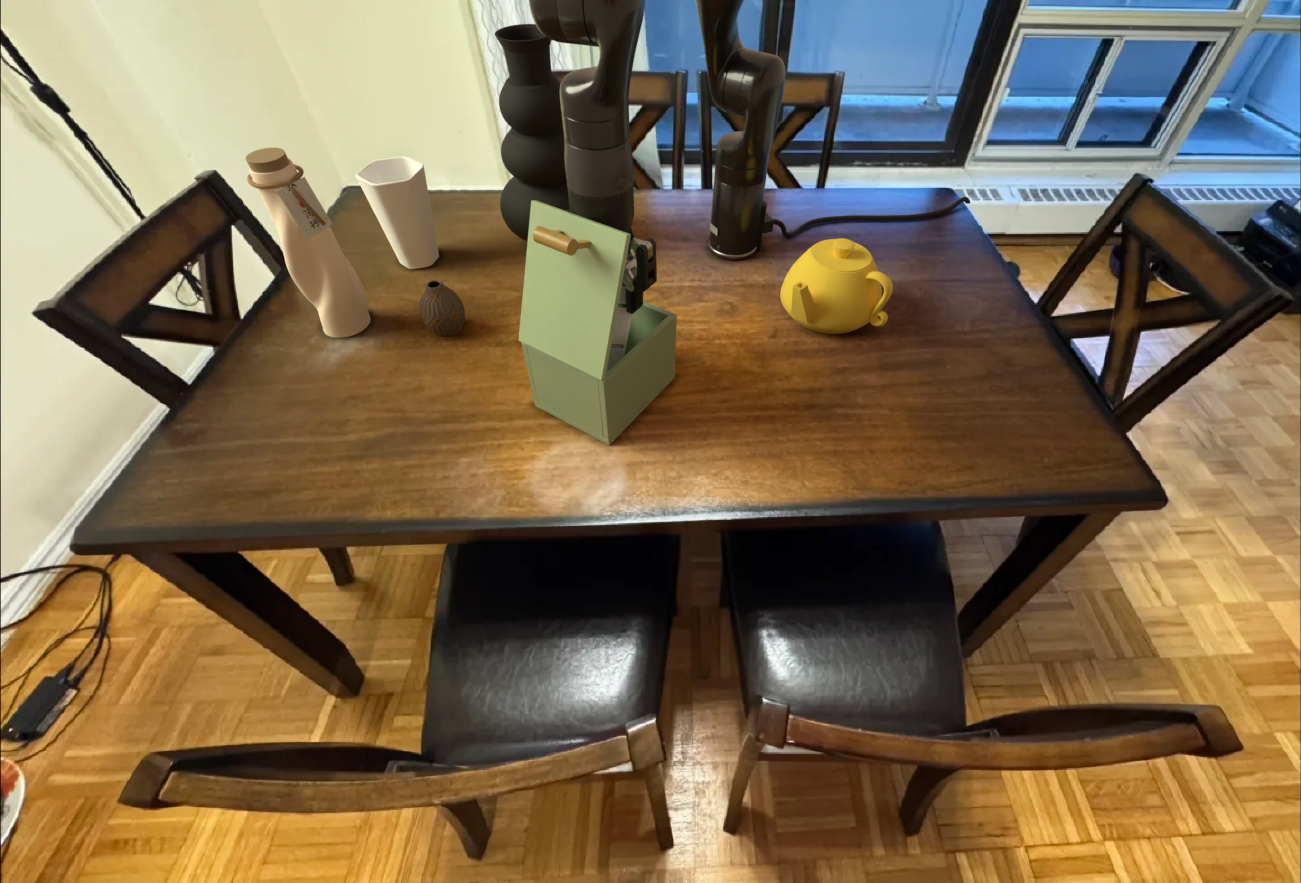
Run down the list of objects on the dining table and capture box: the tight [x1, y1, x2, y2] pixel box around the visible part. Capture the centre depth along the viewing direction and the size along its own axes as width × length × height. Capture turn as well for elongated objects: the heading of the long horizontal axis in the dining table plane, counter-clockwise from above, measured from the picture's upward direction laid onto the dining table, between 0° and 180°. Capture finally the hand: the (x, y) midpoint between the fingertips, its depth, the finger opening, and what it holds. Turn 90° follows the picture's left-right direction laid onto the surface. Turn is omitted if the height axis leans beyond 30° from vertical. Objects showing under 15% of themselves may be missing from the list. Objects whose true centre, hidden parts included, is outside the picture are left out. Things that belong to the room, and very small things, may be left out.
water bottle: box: [245, 147, 371, 339], centre depth 89 cm, size 10×9×28 cm
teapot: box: [779, 237, 894, 335], centre depth 96 cm, size 20×19×13 cm
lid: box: [518, 200, 631, 380], centre depth 69 cm, size 18×14×5 cm
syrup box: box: [606, 270, 634, 372], centre depth 80 cm, size 6×6×14 cm
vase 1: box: [419, 279, 466, 337], centre depth 95 cm, size 7×7×9 cm
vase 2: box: [494, 23, 570, 243], centre depth 105 cm, size 18×18×35 cm
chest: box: [521, 300, 678, 446], centre depth 84 cm, size 17×14×12 cm
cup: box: [355, 155, 440, 270], centre depth 107 cm, size 11×10×17 cm
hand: (608, 299), depth 78 cm, fingers closed on syrup box, 7 cm apart
